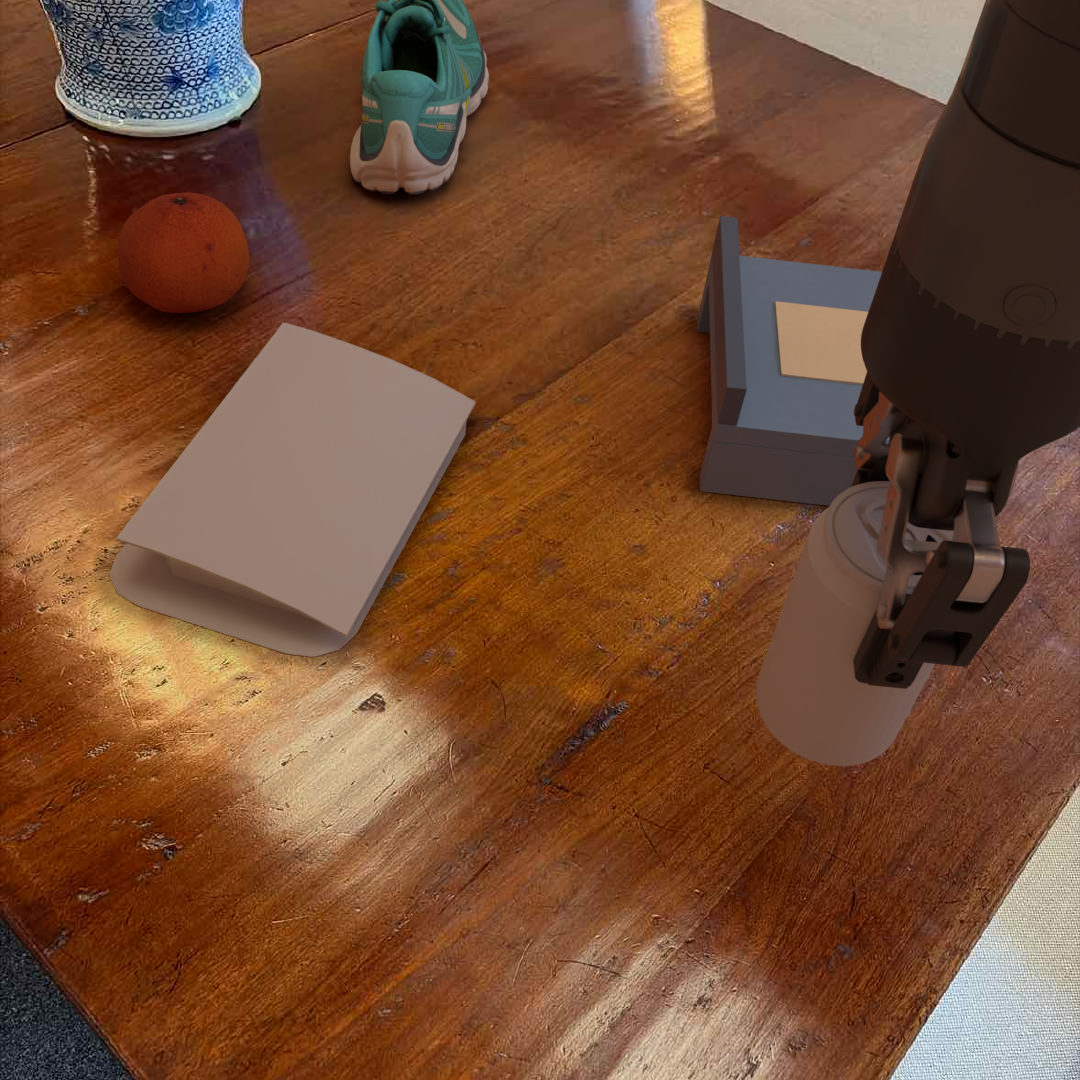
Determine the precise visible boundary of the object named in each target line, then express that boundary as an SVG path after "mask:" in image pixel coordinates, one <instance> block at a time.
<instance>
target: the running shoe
mask: <svg viewBox="0 0 1080 1080" xmlns="http://www.w3.org/2000/svg"><path fill="white" fill-rule="evenodd" d="M375 11H376V12H377V13H376V14H377V15H376V16H375V19H374V22H373V25H372V27H371V29H370V32H369V34H368V39H367V41H366V46H365V50H364V53H363V59H362V60H363V61H362V67H361V75H360V81H361V86H362V88H361V89H362V90H361V91H362V95H361V102H362V112H361V124H360V126H359V127H358V129H357V130H356V131H355V134H354V136H353V137H352V141H351V145H350V151H349V165H350V166H349V168H350V172H351V175H352V177H353V180H354V182H355V183H356V184H358V185H361V186H362V187H363V188H364V190H366V191H369V192H371V193H372V192H373V193H380V194H382V195H394V194H395V192H398V191H399V189H400V188H403V189H404V191H405V192H406V193H407V194H408V195H409V196H414V195H422V194H424V193H430V192H431V193H432V192H434V191H436V190H438V189H440V188H441V186H442V185H445V184H447V183H448V181H449V179H450V178H451V177H452V175H453V174H454V171H455V167H456V165H457V163H458V158H459V148H460V144H461V142H462V141H463V140H464V138H465V134H466V130H467V118H468V116H470V115H471V114H473V113H474V112H475V111H476V110H477V109H478V108H479V106H480V105H481V102H482V100H483V99H484V98H485V97H486V96H487V93H488V90H489V80H490V73H489V69H488V67H487V63H488V58H487V54H486V51H485V50H484V48H483V45H482V42H481V38H480V36H479V33H478V30H477V28H476V26H475V23H474V20H473V18H472V16H471V13H470V12H469V10H468V7H467V6H466V4H465V2H464V0H377V1H376V4H375Z"/></svg>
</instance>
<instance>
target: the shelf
mask: <svg viewBox="0 0 1080 1080" xmlns="http://www.w3.org/2000/svg"><path fill="white" fill-rule="evenodd" d="M738 221H739V220H738V217H735V216H728V215H727V216H725V215H720V216H719V220H718V225H717V230H716V234H715V237H714V242H713V246H712V250H711V251H712V252H711V255H710V260H709V263H708V269H707V273H706V279H705V283H704V288H703V292H702V297H701V300H700V305H699V309H698V313H697V319H696V322H697V323H696V325H697V326H696V328H697V329H696V331H697V332H698V333H706V334H707V333H708V334H709V339H710V340H709V342H710V345H709V346H710V347H709V348H710V383H711V385H710V388H711V419H712V421H711V422H712V423H711V425H712V426H711V430H710V432H709V437H708V441H707V446H706V448H705V453H704V457H703V461H702V464H701V468H700V472H699V492H702V493H712V494H719V495H720V494H721V495H728V496H736V497H737V496H739V497H747V498H756V499H765V500H775V501H782V502H791V503H799V504H800V503H801V504H807V505H817V506H825V507H830V505H831V503H832V502H833V500H834V499H835V498H836V497H837V496H838V495H839V494H840V493H842V492H843V491H845V490H847V489H848V488H850V487H851V485H852V483H853V480H854V477H855V475H856V472H857V470H858V469H861V468H857V467H856V461H855V458H854V451H855V448H856V446H857V445H858V442H859V440H860V438H861V437H862V436H863V426H857V425H856V422H855V416H854V408H855V405H856V404H857V402H858V399H859V395H860V392H861V389H862V386H863V383H864V380H865V377H866V373H867V370H866V367H865V364H864V361H863V358H862V353H861V334H862V329H863V326H864V323H865V320H866V317H867V315H868V312H869V309H870V306H871V303H872V300H873V297H874V294H875V291H876V288H877V285H878V283H879V280H880V277H881V274H882V271H878V270H868V269H861V268H852V267H843V266H834V265H825V264H817V263H809V262H800V261H792V260H791V261H790V260H781V259H775V258H773V259H772V258H766V257H765V258H764V257H756V256H747V255H740V242H739V241H740V240H739V239H740V238H739V223H738Z"/></svg>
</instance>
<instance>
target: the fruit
mask: <svg viewBox="0 0 1080 1080" xmlns="http://www.w3.org/2000/svg"><path fill="white" fill-rule="evenodd" d="M240 223H241V222H239V220H238V219H237V217H236V215H235V214H234V213H233V211H232V210H231V209H230V208H228V206H226V205H225V204H224V203H223V202H221V201H219V200H217V199H215V198H214V197H212V196H209V195H205V194H204V193H203V194H202V193H198V192H197V193H196V192H188V191H187V192H175V193H168V194H161V195H160V196H157V197H156V198H153V199H151V200H149V201H147V202H146V203H144V204H143V205H142V206H141V207H140V208H138V209H137V210H135V211H134V212H133V213H131V215H130V216H129V217H128V218H127V220H126V221H125V223H124V224H123V226H122V228H121V231H120V233H119V237H118V244H117V259H118V266H119V267H118V268H119V272H120V276H121V279H122V280H123V282H124V284H125V285H126V287H127V289H128V290H129V291H130V293H132V294H133V295H134V296H135V297H136V298H137V299H139V300H141V301H142V302H144V303H145V304H146V305H148V306H149V307H151V308H153V309H155V310H158V311H161V312H164V313H169V314H170V313H171V314H174V313H175V314H189V313H199V312H203V311H205V312H206V311H208V310H211V309H215V308H216V307H219V306H221V305H223V304H225V303H226V302H228V301H229V300H231V299H232V298H233V297H234V296H235V295H236V294H237V293H238V291H240V289H241V287H242V286H243V284H244V282H245V280H246V277H247V274H248V270H249V265H250V249H249V244H248V240H247V237H246V236H245V233H244V230H243V227H242V225H241V224H240Z"/></svg>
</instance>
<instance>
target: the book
mask: <svg viewBox="0 0 1080 1080" xmlns="http://www.w3.org/2000/svg"><path fill="white" fill-rule="evenodd" d="M476 403H477V401H475V400H474V399H472V398H470V397H468V396H467V395H465V394H463V393H461V392H459V391H457V390H456V389H454V388H452V387H450V386H449V385H447V384H445V383H443V382H441V381H440V380H437V379H436V378H433V377H432V376H429V375H427V374H425V373H423V372H421V371H418V370H416V369H414V368H411V367H410V366H407V365H405V364H403V363H401V362H398V361H396V360H394V359H391V358H389V357H386V356H384V355H381V354H380V353H379V354H378V353H375V352H373V351H371V350H368V349H366V348H363V347H360V346H357V345H355V344H353V343H349V342H346V341H344V340H341V339H338V338H337V337H336V338H335V337H333V336H330V335H326V334H324V333H321V332H318V331H315V330H313V329H309V328H306V327H301V326H298V325H294V324H292V323H288V322H284V321H283V322H282V323H281V324H280V325H279V327H278V328H277V330H276V331H275V332H274V334H273V335H272V336H271V337H270V338H269V340H268V341H267V343H266V344H265V345H264V346H263V348H262V349H261V350H260V352H259V353H258V354H257V356H256V357H255V358H254V360H252V362H251V364H249V366H248V367H247V369H246V370H245V371H244V372H243V373H242V375H241V376H240V377H239V379H238V380H237V381H236V383H235V384H234V385H233V386H232V387H231V389H230V391H229V392H228V393H227V394H226V396H225V397H224V398H223V399H222V401H221V402H220V403H219V405H218V406H217V407H216V409H215V410H214V411H213V413H211V415H210V416H209V418H208V419H207V420H206V421H205V422H204V424H203V425H202V427H201V428H200V429H199V430H198V432H197V433H196V435H195V436H194V437H193V438H192V439H191V441H190V442H189V443H188V445H187V446H186V447H185V449H184V450H183V451H182V452H181V454H180V455H179V456H178V458H177V459H176V460H175V462H174V463H173V464H172V465H171V467H170V468H169V469H168V470H167V472H166V473H165V474H164V476H163V477H162V478H161V480H160V481H159V482H158V483H157V485H156V486H155V488H153V490H152V491H151V493H150V494H149V495H148V496H147V498H146V499H145V500H144V502H143V503H142V504H141V505H140V507H139V508H138V509H137V510H136V512H134V515H132V517H131V518H130V520H128V522H127V523H126V525H125V526H124V528H122V530H121V531H120V532H119V534H118V535H117V536H116V538H115V540H116V541H117V542H120V543H123V544H124V545H123V546H122V547H121V549H120V550H119V552H118V553H117V554H116V556H115V557H114V560H113V564H112V566H111V569H110V571H109V575H108V577H109V578H110V580H111V583H112V585H113V587H114V590H115V591H116V593H117V595H119V596H121V597H122V598H124V599H126V600H127V601H129V602H130V603H132V604H134V605H136V606H137V607H140V608H143V609H146V610H149V611H152V612H155V613H159V614H161V615H163V616H164V615H165V616H168V617H171V618H174V619H177V620H180V621H183V622H186V623H189V624H192V625H195V626H199V627H201V628H205V629H208V630H211V631H213V632H217V633H220V634H222V635H226V636H229V637H232V638H236V639H239V640H241V641H245V642H247V643H251V644H254V645H257V646H260V647H263V648H266V649H270V650H273V651H276V652H279V653H282V654H284V655H293V656H299V657H300V656H301V657H309V658H315V657H316V658H317V657H319V656H323V655H326V654H330V653H333V652H337V651H340V650H341V649H342V648H344V647H345V645H347V644H348V643H349V642H350V641H351V640H352V639H353V638H354V637H356V635H357V634H358V632H359V630H360V628H361V627H362V624H363V622H365V619H366V617H367V615H368V613H369V612H370V610H371V608H372V606H373V604H374V602H375V601H376V598H378V595H379V593H380V592H381V589H382V588H383V586H384V584H385V582H386V580H387V579H388V578H389V575H390V573H391V572H392V570H393V568H394V566H395V564H396V562H397V560H398V559H399V556H400V555H401V554H402V552H403V550H404V547H405V545H406V544H407V543H408V540H409V539H410V537H411V535H412V533H413V531H414V529H415V527H416V525H418V522H419V520H420V518H421V516H423V515H422V514H423V513H424V511H425V510H426V507H427V505H428V503H429V502H430V500H431V498H432V497H433V494H434V492H436V489H437V487H438V485H439V484H440V482H441V479H442V478H443V476H444V474H445V472H446V471H447V470H448V467H449V465H450V463H451V461H452V460H453V458H454V456H455V454H456V453H457V450H458V449H459V448H460V445H461V443H462V442H463V440H464V438H465V437H466V433H467V422H468V421H467V420H468V418H469V416H471V414H472V411H473V409H474V408H475V406H476Z"/></svg>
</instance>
